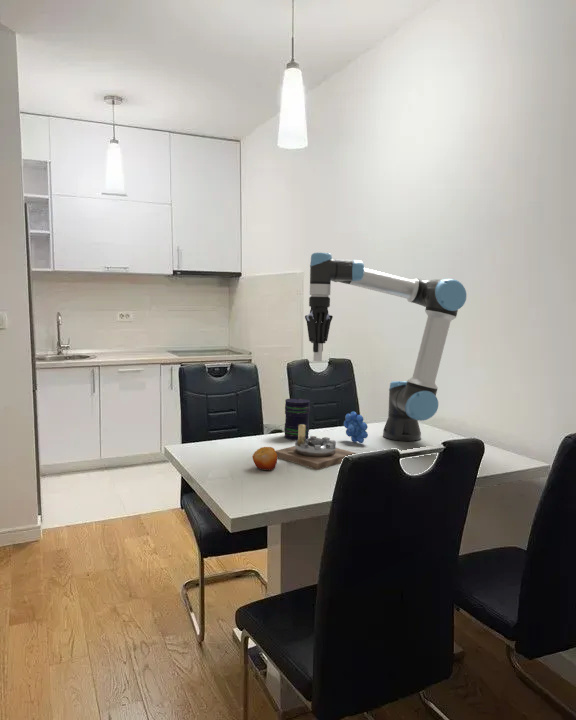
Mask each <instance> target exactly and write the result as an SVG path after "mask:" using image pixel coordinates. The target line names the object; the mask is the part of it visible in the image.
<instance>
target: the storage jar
mask: <svg viewBox="0 0 576 720" xmlns="http://www.w3.org/2000/svg"><path fill="white" fill-rule="evenodd" d="M310 402H311V401H310V400H309V399H306V398H297V397H295V398H294V397H293V398H292V397H290V398H286V399H285V403H284V404H285V406H284V414H285V423H284V429H283V430H284V439H286V440H289V441H295V440H298V427H299V425H300V424H303V425H306V428H305V438H306V440H307V439H309V438H310V436H309V434H310V423H309V419H310V417H309V416H310V410H311V407H310V405H311V404H310Z"/></svg>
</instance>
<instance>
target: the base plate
mask: <svg viewBox="0 0 576 720" xmlns="http://www.w3.org/2000/svg"><path fill="white" fill-rule="evenodd" d="M275 451H276V453H277V457H278V458H279V459H281V460H285V461H288V462H290V463H294V464H298V465H301V466H304V467H307V468H311V469H314V470H317V471H318V470H322V469H324V468H328V467H332V466H334V465H338V464H341V461H342V459H343V458H344V457H345V456H348V455H352V454H356V452H354V451H350V450H346V449H341V448H338V447H335V454H333V455H330V456H323V457H313V456H305V455H301V454H298V453H297V452H295V445H294V446H290V447H289V446H288V447H285V448H280V449H277V450H275ZM278 458H277V459H278Z"/></svg>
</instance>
